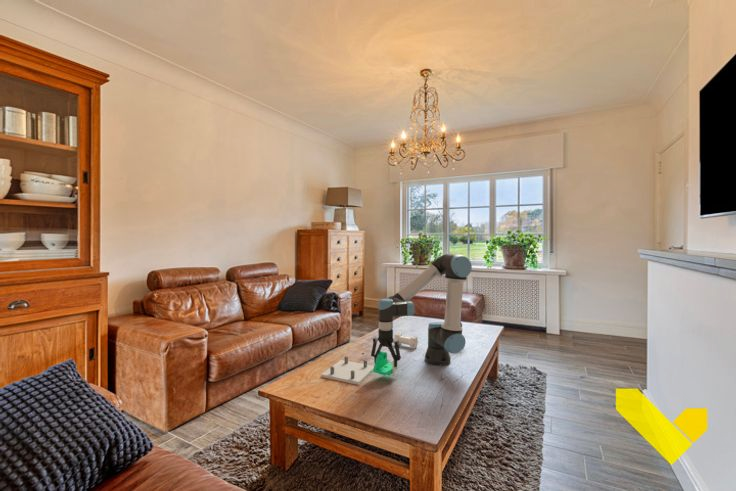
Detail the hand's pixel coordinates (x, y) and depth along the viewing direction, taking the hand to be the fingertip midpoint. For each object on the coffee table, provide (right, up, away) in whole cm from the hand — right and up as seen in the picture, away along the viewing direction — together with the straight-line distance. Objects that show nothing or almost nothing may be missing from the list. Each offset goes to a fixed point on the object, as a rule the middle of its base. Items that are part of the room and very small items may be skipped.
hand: (385, 371), depth 178 cm
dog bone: (+16, -2, +50) cm, 53 cm away
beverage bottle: (+51, -2, +55) cm, 75 cm away
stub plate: (-20, -3, +6) cm, 21 cm away
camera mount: (0, -1, 0) cm, 1 cm away
